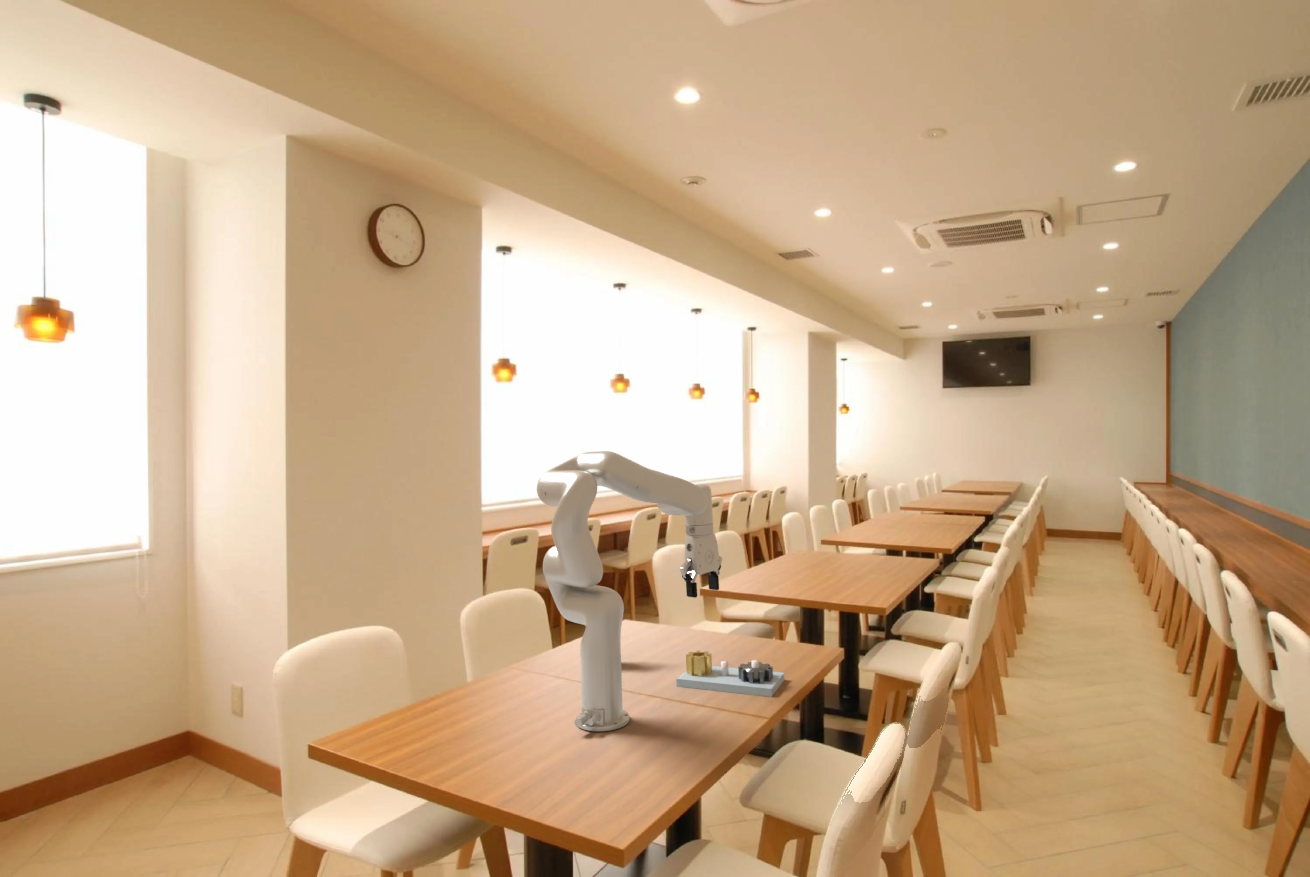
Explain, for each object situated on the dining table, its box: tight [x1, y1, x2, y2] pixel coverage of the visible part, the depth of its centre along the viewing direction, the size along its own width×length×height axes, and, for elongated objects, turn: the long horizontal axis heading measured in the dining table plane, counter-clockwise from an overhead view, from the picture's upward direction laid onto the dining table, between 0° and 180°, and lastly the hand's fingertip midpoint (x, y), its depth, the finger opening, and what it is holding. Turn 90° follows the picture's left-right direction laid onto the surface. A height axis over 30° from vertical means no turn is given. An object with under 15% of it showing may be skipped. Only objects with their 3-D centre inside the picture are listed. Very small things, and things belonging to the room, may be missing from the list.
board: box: [675, 659, 785, 698], centre depth 191 cm, size 14×26×6 cm, turn 66°
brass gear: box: [685, 650, 713, 677], centre depth 194 cm, size 7×7×5 cm
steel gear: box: [737, 661, 774, 684], centre depth 188 cm, size 9×9×3 cm
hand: (703, 593), depth 192 cm, fingers open, 9 cm apart
